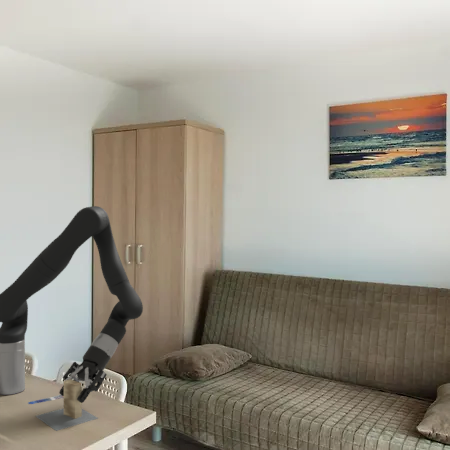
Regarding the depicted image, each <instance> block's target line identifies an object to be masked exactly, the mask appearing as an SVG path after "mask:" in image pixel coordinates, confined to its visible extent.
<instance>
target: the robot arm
mask: <svg viewBox="0 0 450 450" xmlns="http://www.w3.org/2000/svg"><path fill="white" fill-rule="evenodd" d="M90 238H92V239H93V241H94V242H95V245H96V248H97V251H98V255H99V261H100V263H99V264H100V269H101V272H102V276H103V279H104V281H105V283H106V286H107V288H108V290H109V292H110V294H111V295H113V296H116V297H117V299H118V301H117V303H115V305H114V307H112V310H111V312H110V314H109V316H108V320H107V322H106V323H105V325H104V326H103V328H102V329H101V330H100V332H99V334H98V335H97V336H96V337H95V338H94V339H93V341H92V342H91V344H90V345H89V346H88V348H87V350H86V351H85V353H84V354H83V356H82V362H81V363H80V364H79V363H77V361H74V362H72V364H71V365H70V366H69V368H68V369H67V371H66V372H65V374H63V376H62V378H63V380H64V381H66V380H69V379H71V380H74V381H77V382H81V381H82V382H85V383H84V384H85V386H84V388H83V387H82V392H81V393H80V395H79V396H78V398H77V400H78V401H79V402H81V403H82V404H83V403H84V402H86V400H87V398H88V397H89V395H90V393H92V392H93V391H94V392H98V391H99V389H100V387H101V386H102V384H103V382H104V381H105V379H106V377H107V375H108V374H107V372H106V371H104V370H105V368H106V366H107V365H108V364H109V362H110V360H111V359H112V357H113V356H114V355H115V352H116V351H117V348H118V346H119V345H120V344H121V342H122V340H123V338H124V337H125V335H126V332H127V328H126V326H127V323H128V322H129V321H130V320H136V319H138V318H140V317H141V316H142V314H143V311H144V305H143V302H142V300H141V297H140V295H139V294H138V293H137V292H136V290H135V288H134V287H133V286H132V284H131V283H130V281H129V277H128V275H127V273H126V271H125V268H124V265H123V262H122V260H121V258H120V255H119V252H118V249H117V246H116V242H115V239H114V236H113V232H112V226H111V222H110V218H109V214H108V212H107V211H106V210H105V209H104V208H103V207H101V206H97V205H93V206H88V207H87V206H86V207H83V208H82V209H81V208H80V210H79V211H77V212H76V214H75V215H74V216H73V218H72V219H71V220H70V222H69V223H68V225H66V227H65V228H64V229H63V231H62V232H61V233H60V234H59V235H58V236H57V237H56V238H55V239H53V241H51V242H50V243H49V244H48V245H47V246H46V247H45V248H44V249H43V250H42V251H41V252H40V253H38V254H37V256H36V257H35V259H33V260H32V261H31V263H30V264H29V265H28V266H27V267H26V269H24V270H23V271H22V272H21V274H20V275H19V276H18V277H17V278H16V280H15V281H14V282H12V283H11V284H10V285H9V286H8V287H7V288H5V290H3V291H2V292H1V293H0V323H1V326H0V395H6V396H9V395H14V394H15V395H16V394H19V393H21V392H23V391H25V389H26V356H25V355H26V348H25V347H26V343H25V341H26V340H25V336H26V332H27V330H28V319H29V318H28V315H29V313H28V312H29V306H28V299H30V298H31V297H32V296H33V295H35V294H37V292H40V291H41V290H42V289H44V288H45V287H46V286H48V285H49V284H51V283H52V282H53V281H55V279H57V277H59V276H60V275H61V273H62V272H63V271H65V269H66V268H67V266H68V265H69V264H70V262H71V260H72V258H73V257H74V255H75V253H76V251H77V250H78V249H79V248H80V247H81V246H82V245H83V244H84V243H86V241H88V240H89V239H90ZM58 394H59V395H62V396H64V384H63V385H62V386H61V388H60V389H59V391H58Z"/></svg>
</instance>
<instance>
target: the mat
mask: <svg viewBox="0 0 450 450" xmlns="http://www.w3.org/2000/svg"><path fill="white" fill-rule="evenodd" d="M35 417H36V418H37V419H39V420H40V421H41V422H42V423H43V424H45V425H47V426H49V427H50V428H51V429H52V430H54V431H56V432H57V431H61V430H65V429H67V428H71V427H74V426H77V425H80V424H83V423H88V422H91V421H94V420H98V419H99V417H97V416H96V415H93V414H92V413H90V412H88V411H87V410H85V409H84V408H82V416H81V417H79V418H76V419H74V418H72V417H69V416H67V415H64V407H63V408H61V409H59V408H58V409H57V410H56V409H55V410H53V411H48V412H44V413H41V414H38V415H35Z"/></svg>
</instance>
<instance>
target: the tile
mask: <svg viewBox="0 0 450 450" xmlns="http://www.w3.org/2000/svg"><path fill="white" fill-rule="evenodd" d="M63 385H64V398H63V408H64V415H67V416H69V417H72V418H74V419H76V418H79V417H81V416H82V409H83V407H82V406H83V405H82V404H83V403H81V402H79V401H78V400H77V398H78V396H79V395H80V393H81V392H82V390H83V386H82V385H83V384H82V382H81V381H79V382H77V381H74V379H72V380H71V379H69V380H66V381H65V380H64V381H63Z"/></svg>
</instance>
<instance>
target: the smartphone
mask: <svg viewBox="0 0 450 450" xmlns="http://www.w3.org/2000/svg"><path fill="white" fill-rule="evenodd" d="M62 399H64V396H62V395H61V394H58V395H55V396H49V397H45V398H40V399H37V400H31V401H28V402H27V404H28V405H34V404H40V403H45V402H50V401H55V400H62Z"/></svg>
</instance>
